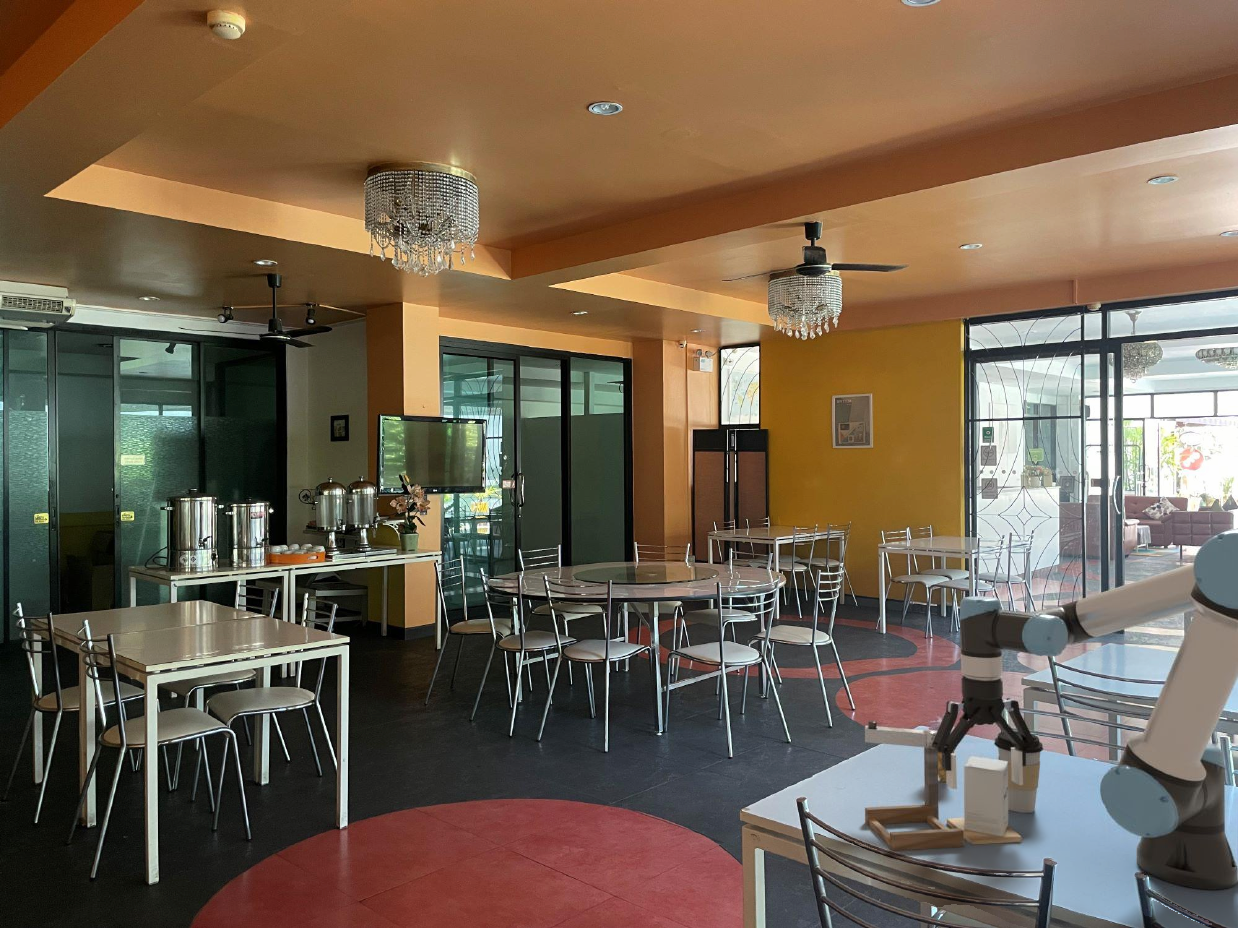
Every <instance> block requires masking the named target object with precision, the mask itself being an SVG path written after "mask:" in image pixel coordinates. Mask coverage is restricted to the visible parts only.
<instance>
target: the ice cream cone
mask: <svg viewBox="0 0 1238 928" xmlns="http://www.w3.org/2000/svg"><path fill="white" fill-rule="evenodd" d="M944 715H945V713H942V715H941V717H939V716H935V719H936V720H930V721H929V722H928V724H929V727H928V728H927V730H935V731H938V729H939V727H940V724H941V722H942V720H943V718H944ZM955 727H956V726H955V725H954V726H953V728H952V731H953V730H954V728H955ZM952 731H951V732H952ZM950 734H951V733H950ZM956 749H957V747H956V748H955V750H956ZM955 750H954V751H953V752H952V753H953V754H955ZM938 780H939V782H941V783H942V782H943V783H945V782H946V770H945V769H943V767H942V753H941V752H939V751H938ZM946 783H947V782H946Z"/></svg>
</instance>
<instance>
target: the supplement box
mask: <svg viewBox="0 0 1238 928" xmlns="http://www.w3.org/2000/svg"><path fill="white" fill-rule="evenodd" d="M963 767H964V768H963V780H964V781H963V782H964V783H963V784H964V785H963V786H964V787H963V788H964V789H963V790H964V793H963V794H964V796H963V797H964V800H963V801H964V802H963V803H964V816H963V818H964V829H965V830H970V831H975V832H980V833H985V834H990V835H995V836H1000V837H1003V836H1004V833H1005V830H1006V827H1007V826H1008V825H1009V810H1008V761H1002V760H999V759H994V758H987V757H981V756H973V755H971V756H969V757H968V760H967V761H966V762H965V764H964V766H963Z"/></svg>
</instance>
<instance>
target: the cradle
mask: <svg viewBox="0 0 1238 928" xmlns="http://www.w3.org/2000/svg"><path fill="white" fill-rule="evenodd" d="M923 749H924V750H923V757H924V761H923V762H924V763H923V765H924V766H923V768H924V769H923V770H924V773H923V774H924V775H923V777H924V780H923V781H924V804H910V805H887V806H870V807H864V824H866V825H869V827H871V829H873V830H874V832H875V833H876V834H877V835H878V836H879V837H881V839H882V840H883V841H884V842H885V843H886V844H887V845H888V846H889V849H890V850H891V851H894V852H895V851H910V850H912V851H914V850H929V849H930V850H931V849H947V848H963V847H965V845H964V843H965V841H964V840H965V838H964V831H963V830H962V829H961V828H956V829H953V828H948V827H947V826H946V825H945V824H944V823H942V822H941V821H940V820H939V818H940V817H939V815H940V814H939V813H940V812H939V809H940V808H939V776H938V751H937V750H935V749H929V748H925V747H923ZM925 822H927V824H929V825H930V826H931V827H932V828H933V829H925V830H924V829H923V830H920V829H919V830H906V831H905V830H904V831H890V832H889V831H888V830H887V829H886V828H885V827H884V826H883V825H887V824H890V825H891V824H906V823H910V824H911V823H925Z"/></svg>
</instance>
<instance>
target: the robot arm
mask: <svg viewBox="0 0 1238 928" xmlns="http://www.w3.org/2000/svg"><path fill="white" fill-rule="evenodd" d="M959 606H960V607H959V619H958V621H959V628H960V664H961V665H960V669H961V670H960V672H961V673H962V676H961V695H962V700H961V702H954V701H952V700H948V701H947V702H946V706H945V708H946V709H945V713H944V714H945V715H944V718H943V720H942V722H941V724H940V727H939V729H938V731H937V734H936V736H935V738H934V740H933V743H932V748H934V749H935V750H937V751H939V752H941V753H942V767H943V769H945V770H946V785H947V786H948V787H950V788H951V789H953V790H957V789H958V786H957V785H958V783H957V782H958V779H957V774H958V773H957V755H956V754H955V753H954V754H953V753H952V752H953V751H954V752H955V750H956V749H957V747H958V746H959V744H960V743H961V742H962V741H963V739H964V737H965V736H966V735H967V733H968V732H969V731H970V729H973V728H974V726H976V725H977V726H983V725H994V724H996V726H998V728H999V729H1000V731H1001V732H1004V734H1005V735H1006V736H1007V737H1008V738H1009V739H1010V741H1011V742H1012V743H1013V744H1014V745H1015V746H1016V748H1015V747H1014V748H1011V769H1012V781H1013V782H1015V783H1017V784H1018V785H1023V766H1025V765H1026V752H1028V751H1029V747H1034V746H1035V744H1036V743H1035V741H1034V739H1033V737H1032V735H1031V734H1032V733H1031V731H1030V729H1029V727H1028V725H1027V724H1026V722H1025V720H1024V717H1023V716H1022V714H1021V711H1020V704H1019V702H1018V701H1017V700H1016V699H1014V698H1012V697H1011V698H1010V697H1007V698H1006V700H1004V699H1003V696H1004V688H1003V687H1004V686H1003V679H1002V678H1001V677H1002V676H1003V656H1002V655H1003V653H1002V652H1003V651H1002V650H1006V651H1013V652H1017V653H1023V654H1030V655H1036V656H1038V657H1043V656H1044V657H1045V656H1047V657H1057V656H1059V655H1061V654H1062V653H1063V651H1064V650H1065V649H1066V647H1067V646H1070V645H1077V644H1080V643H1084V642H1085V641H1088V640H1091V639H1094V638H1098V637H1102V636H1105V635H1108V634H1111V633H1117V632H1119V631H1124V630H1126V629H1130V628H1131V629H1132V628H1134V627H1137V626H1141V625H1144V624H1148V623H1151V622H1155V621H1160V620H1163V619H1166V618H1170V617H1174V616H1176V615H1177V616H1178V615H1179V614H1183V613H1184V614H1185V613H1187V612H1192V611H1194V610H1195V611H1194V614H1193V615H1192V618H1191V621H1190V623H1189V625H1188V628H1187V631H1186V632H1185V635H1184V638H1183V639H1182V642H1181V643H1180V644H1181V645H1180V647H1179V648H1178V651H1177V653H1176V656H1175V659H1174V661H1173V663H1172V665H1171V668H1170V670H1169V672H1168V674H1167V677H1166V680H1165V682H1164V684H1163V687H1162V688H1161V691H1160V693H1159V695H1158V698H1157V700H1156V702H1155V705H1154V707H1153V709H1152V712H1151V714H1150V716H1149V718H1148V719H1149V720H1148V722H1147V723H1146V726H1145V729H1144V731H1143V733H1142V734H1137V735H1133V736H1131V737H1129V739H1128V741H1127V743H1126V746H1125V749H1124V751H1123V752H1122V755H1121V757H1120V760H1119V762H1118V764H1117V765H1116V766H1113V767H1111V768H1109V769H1108V770H1107V772H1106V773H1105V774H1104V776H1102V779H1101V782H1100V786H1099V793H1100V798H1101V802H1102V804H1103V805H1104V806H1105V809H1106V812H1107V813H1108V815H1109V816H1110V817H1111V819H1112V820H1113V821H1114V822H1115V823H1116V824H1117V825H1118V826H1120V827H1121V828H1122V829H1124V830H1125V831H1126V832H1129V833H1131V834H1133V835H1134V836H1135V835H1136V836H1137V837H1141V838H1140V841H1139V842H1138V844H1137V847H1136V863H1137V865H1138V866H1139V867H1140V868H1141V869H1142V870H1143V871H1144V872H1146V873H1148V874H1150V875H1151V876H1154V877H1155V878H1158V879H1160V880H1163V881H1166V882H1168V883H1172V884H1175V885H1177V886H1178V885H1179V886H1183V887H1188V888H1193V889H1201V890H1225V889H1226V890H1227V889H1229V888H1232V887H1234V886H1236V885H1237V883H1238V865H1237V863H1236V861H1235V857H1234V854H1233V852H1232V849H1231V846H1230V843H1229V841H1228V838H1227V835H1226V824H1225V823H1226V815H1225V814H1226V811H1225V810H1226V806H1225V805H1226V801H1225V797H1226V796H1225V790H1226V789H1225V785H1226V783H1225V780H1226V779H1225V778H1226V775H1225V774H1226V773H1225V771H1226V765H1225V759H1224V758H1225V757H1224V752H1223V751H1222V749H1220V747H1218V746H1215V745H1214V744H1211V743H1210V740H1211V737H1212V735H1213V733H1214V731H1215V729H1216V727H1217V724H1218V722H1219V720H1220V717H1221V716H1222V713H1223V711H1224V709H1225V706H1226V705H1227V703H1228V700H1229V698H1230V695H1231V694H1232V692H1233V689H1234V686H1235V685H1236V683H1237V681H1238V528H1231V529H1228V530H1226V531H1222V532H1220V533H1219V534H1218V533H1217V534H1216V535H1214V536H1213V537H1211V538H1209V539H1208V540H1207V541H1205V542H1204V543H1203V544H1202V545H1201V547H1200V548H1199V549H1198V551H1197V552H1196V555H1195V557H1194V561H1193V563H1189V564H1187V565H1186V564H1185V565H1183V566H1179V567H1177V568H1175V569H1174V568H1173V569H1170V570H1168V571H1165V572H1162V573H1158V574H1155V575H1152V576H1149V577H1147V578H1144V579H1140V580H1136V581H1133V582H1130V583H1127V584H1124V585H1121V586H1118V587H1115V588H1112V589H1109V590H1106V591H1103V592H1099V593H1096V594H1094V595H1093V594H1092V595H1090V596H1087V597H1084V598H1080V599H1078V600H1073V601H1071V602H1068V603H1064V604H1061V605H1057V606H1054V607H1049V608H1044V609H1040V610H1039V609H1038V610H1034V611H1029V612H1028V611H1026V612H1025V611H1016V610H1015V611H1014V610H1006V609H1002V605H1001V601H1000V599H998V598H997V597H992V596H981V595H979V596H977V595H975V596H974V595H973V596H966V597H964V598H962V599H961V601H960V604H959ZM1004 710H1006V711H1007V712H1008V715H1009V716H1010V719H1011V720H1012V722H1013V724H1014V727H1015V728H1016V731H1018V732H1019V734H1020V736H1021V738H1022V740H1021V739H1020V738H1019V736H1018V735H1017V734H1016V733H1015V732H1014V731H1015V730H1014V729H1013V728H1012V727H1011V725H1009V724H1008V721H1007V720H1006V719H1005V718H1004V717H1003V715H1002V713H1003V711H1004ZM961 711H963V714H962V715H961V716H960V718H959V721H958V722H957V724H956V721H957V718H958V715H959V714H961ZM955 724H956V725H955ZM953 726H954V727H955V728H954V730H953V731H952V728H953ZM951 731H952V732H951ZM950 733H951V734H950ZM955 748H956V749H955Z"/></svg>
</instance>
